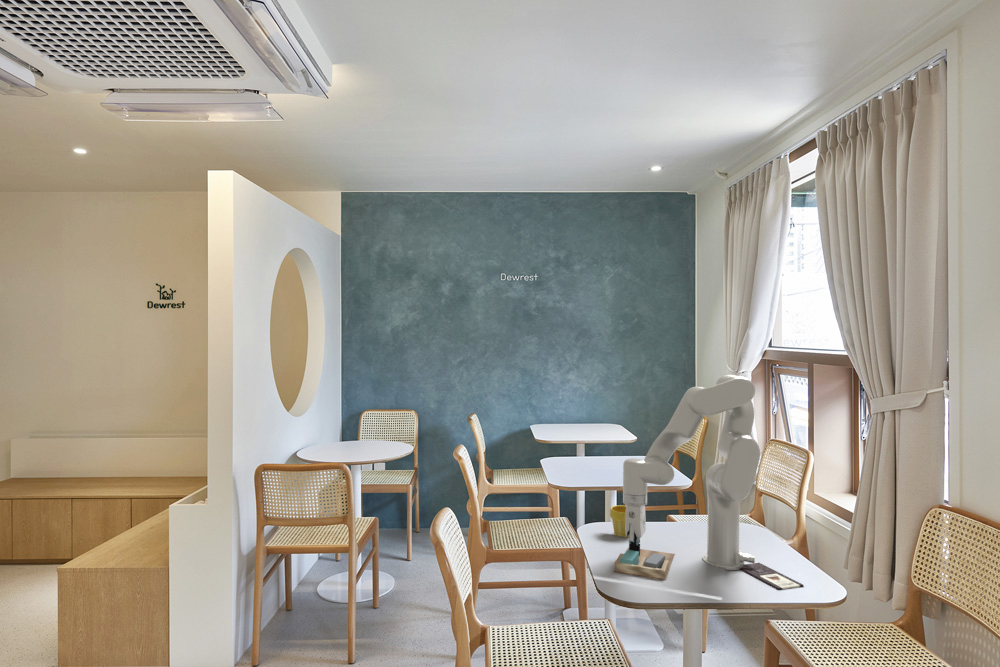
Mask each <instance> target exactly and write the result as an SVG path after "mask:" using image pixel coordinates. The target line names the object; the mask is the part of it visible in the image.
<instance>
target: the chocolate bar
mask: <svg viewBox="0 0 1000 667" xmlns="http://www.w3.org/2000/svg"><path fill="white" fill-rule="evenodd" d="M739 570H740V571H742V572H743V573H746V574H747V575H749V576H752V577H753V578H755V579H757V580H758V581H760V582H762V583H764V584H766V585H768V586H770V587H771V586H772V588H773V587H774V588H773V589H775V588H776V589H775V590H778V591H781V590H788V589H789V590H790V589H796V588H804V584H802V583H801V582H799V581H796V580H795V579H793V578H790V577H788V576H787V575H784V573H781V572H779V571H777V570H774V569H773V568H770V567H769V566H766V565H765V564H763V563H760V562H756V563H747V564H745V563H744V567H742V568H741V569H739Z"/></svg>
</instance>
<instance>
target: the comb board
mask: <svg viewBox="0 0 1000 667" xmlns="http://www.w3.org/2000/svg"><path fill="white" fill-rule="evenodd" d="M625 550H626V551H627V550H629V546H628V548H627V549H625ZM626 551H625V552H626ZM653 553H656V554H661V555H665V560H664V563H663V565H662V568H661V569H659V568H653V567H646V566H644V563H645V561H646V560H647V559H648V558H649V557H650V556H651V555H652V554H653ZM623 555H624V553H619V555H618V556H617V558H616V559H615V562H614V563H613V564H614V567H613V568H614V569H613V570H614V571H613V573H617V574H623V575H629V576H636V577H640V578H641V577H642V578H647V579H654V580H659V581H660V580H661V581H667V578H668V576H669V573H670V570H671V567H672V564H673V562H674V557H675V556H676V554H675V553H671V552H664V551H658V550H657V551H656V550H650V549H644V548H640V556H639V563H638V565H633V564H627V563H620V559H621V557H622V556H623Z"/></svg>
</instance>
